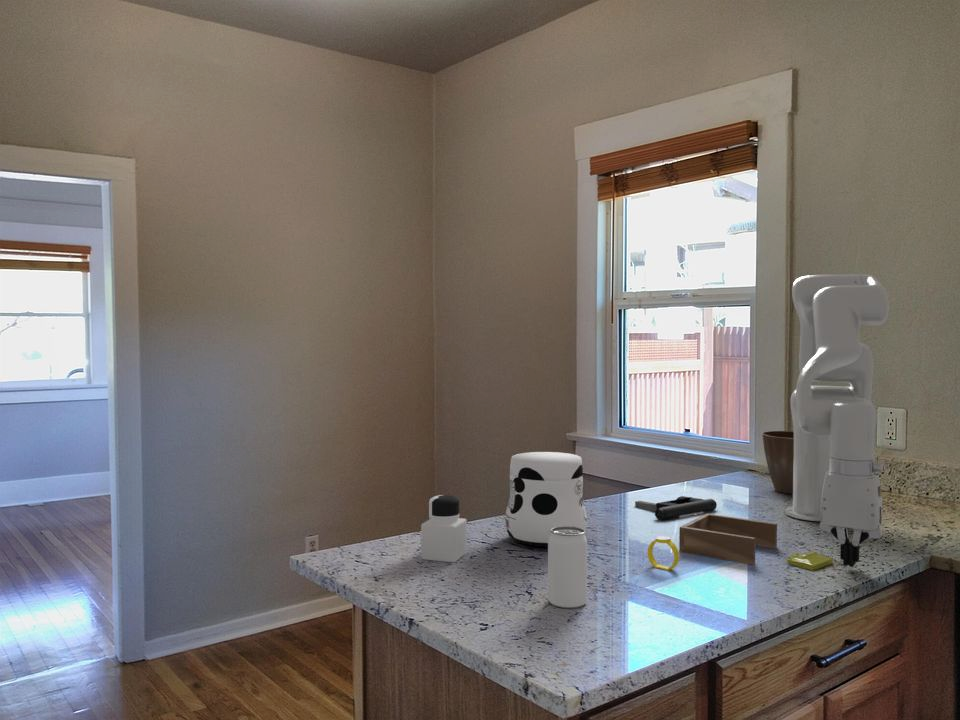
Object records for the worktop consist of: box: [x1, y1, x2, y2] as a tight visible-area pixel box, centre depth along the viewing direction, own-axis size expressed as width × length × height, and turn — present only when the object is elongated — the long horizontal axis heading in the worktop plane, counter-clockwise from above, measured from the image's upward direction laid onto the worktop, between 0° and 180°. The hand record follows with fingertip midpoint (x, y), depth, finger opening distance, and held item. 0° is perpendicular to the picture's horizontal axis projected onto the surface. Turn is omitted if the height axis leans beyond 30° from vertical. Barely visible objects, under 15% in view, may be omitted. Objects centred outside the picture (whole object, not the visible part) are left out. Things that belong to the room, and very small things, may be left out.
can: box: [547, 526, 588, 609], centre depth 130 cm, size 6×6×12 cm
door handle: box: [634, 496, 718, 521], centre depth 196 cm, size 3×20×16 cm
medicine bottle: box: [420, 494, 468, 564], centre depth 156 cm, size 7×7×12 cm
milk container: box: [504, 451, 588, 547], centre depth 167 cm, size 17×17×18 cm
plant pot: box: [761, 430, 794, 495], centre depth 219 cm, size 15×15×16 cm
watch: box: [647, 535, 680, 572], centre depth 149 cm, size 6×3×6 cm, turn 48°
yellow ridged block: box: [786, 551, 834, 571], centre depth 152 cm, size 10×9×3 cm
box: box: [678, 512, 778, 565], centre depth 161 cm, size 15×15×5 cm
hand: (849, 564), depth 147 cm, fingers closed
